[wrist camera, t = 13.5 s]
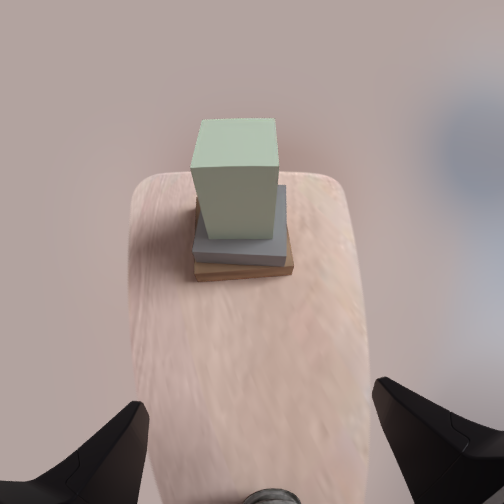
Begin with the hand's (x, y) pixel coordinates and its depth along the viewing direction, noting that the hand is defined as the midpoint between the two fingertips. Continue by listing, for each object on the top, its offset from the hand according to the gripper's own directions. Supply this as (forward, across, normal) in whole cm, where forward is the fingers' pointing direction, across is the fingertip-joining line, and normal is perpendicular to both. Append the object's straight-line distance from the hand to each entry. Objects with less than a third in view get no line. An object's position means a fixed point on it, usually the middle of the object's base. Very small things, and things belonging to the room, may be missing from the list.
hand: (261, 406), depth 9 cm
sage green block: (+18, 0, -4) cm, 19 cm away
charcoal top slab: (+19, 0, -3) cm, 20 cm away
